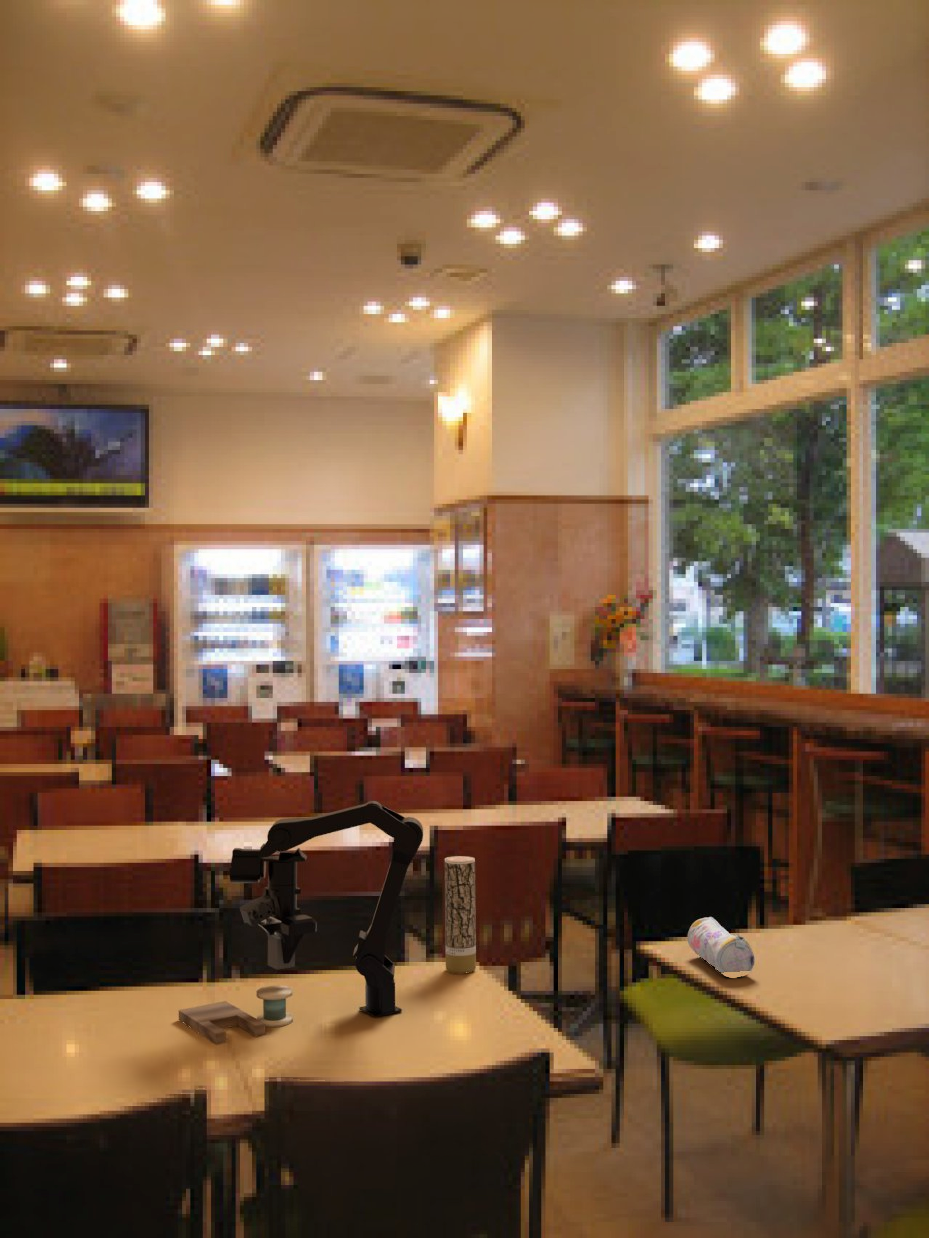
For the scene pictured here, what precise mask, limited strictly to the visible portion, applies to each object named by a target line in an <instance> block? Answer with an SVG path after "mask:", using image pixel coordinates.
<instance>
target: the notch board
mask: <svg viewBox="0 0 929 1238" xmlns="http://www.w3.org/2000/svg"><path fill="white" fill-rule="evenodd" d="M179 1020H181V1021H180V1022H181V1023H182V1022H184V1023H185V1024H187V1025H189V1026H190V1027H191V1028H192V1029H191V1028H190V1027H189V1028H190V1029H191V1030H193V1031H195V1032H196V1031H197V1032H196V1033H198V1032H199V1033H200V1035H201V1036H202V1035H203V1036H202V1037H203V1038H205V1037H206V1039H207V1040H209V1041H210V1042H211V1043H213V1044H215V1045H221V1044H225V1043H227V1031H226V1030H225V1029H226V1027H228V1028H231V1027H236V1025H237V1026H238V1027H239V1028H242V1029H243V1030H244V1031H246V1032H248V1033H249V1034H251V1035H253V1036H255V1037H258V1036H263V1035H266V1027H265V1023H263V1022H261V1021H260V1020H258V1019H257V1017H254V1016H252V1015H251V1014H249V1013H248V1012H246V1011H244V1010H242V1009H240V1008H238V1007H236V1006H235V1005H233V1004H231V1003H230V1002H228V1001H227V1000H224V1001H218V1002H214V1003H209V1004H204V1005H198V1006H194V1007H193V1006H192V1007H188V1008H183V1009H179V1010H178V1021H179ZM184 1023H183V1024H184ZM185 1024H184V1025H185ZM187 1025H186V1026H187ZM221 1028H223V1029H221ZM199 1033H198V1034H199Z"/></svg>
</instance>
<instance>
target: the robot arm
mask: <svg viewBox="0 0 929 1238" xmlns="http://www.w3.org/2000/svg"><path fill="white" fill-rule="evenodd" d="M368 824H372V825H373V826H374V827H376V828H378V829H379V830H380V831H381V832H383V833H385V834H386V835H388V836H389V837H391V838H392V839H393V841H392V842H393V843H392V849H391V850H392V852H391V859H390V862H389V867H388V869H387V873H386V876H385V880H384V882H383V885H382V889H381V892H380V896H379V898H378V902H377V905H376V909H375V912H374V915H373V918H372V921H371V924H370V926H369V928H368V930H367V931H363V930H360V931H359V936H358V942H357V945H356V946H355V947H354V950H353V954H352V957H353V958H355V960H354V966H355V967H354V968H355V969H356V971H357V972H358V974H360V975H361V976H362V977H364V980H365V987H364V990H365V995H364V996H365V1005H364V1006H359V1007H358V1008H359V1011H361V1012H363V1013H365V1014H367V1015H368V1016H371V1017H374V1018H378V1017H383V1016H384V1017H385V1016H388V1015H393V1014H397V1013H401V1012H403V1009H402V1008H400V1007H399V1006H396V982H395V979H394V978H395V971H396V965H395V963H394V962H393V961H392V960H391V959H390V958H389V957H388V956H386V949H387V942H388V933H389V930H390V927H391V924H392V920H393V918H394V917H393V916H394V913H395V910H396V906H397V904H398V901H399V898H400V894H401V891H402V888H403V884H404V881H405V878H406V875H407V872H408V869H409V866H410V865H411V863H412V861H413V859H414V858H415V856H416V854H417V853H418V850H419V849H420V846H421V844H422V843H423V839H424V826H423V824H422V823H421V822H420V821H419V820H418V819H417V818H415V817H411V816H406V817H405V816H403V815H401V814H400V813H398V812H396V811H394V810H392V809H390V808H388V807H386V806H384V805H382V804H381V803H380V802H379V801H375V800H369V801H367V802H366V803H363V804H359V805H355V806H350V807H347V808H343V809H339V810H335V811H332V812H328V813H324V814H318V815H316V816H311V817H310V816H308V817H288V818H287V817H286V818H280V819H278V820H276V821H275V822H274V823H273V824H272V825H271V827H270V829H269V830H268V832H267V838H266V839H267V841H266V842H265V843H263V844H262V845H261V846H260V847H259V848H260V849H258V848H255V849H254V848H253V849H252V848H247V849H246V848H240V847H239V848H238V847H234V848H233V850H232V853H231V861H230V867H229V882H230V883H232V884H259V883H260V881H261V879H265V878H266V873H268V874H267V878H268V879H267V882H268V883H267V886H266V887H263V890H262V896H259V897H258V898H255V899H253V900H251V901H249V902H246V903H245V904H243V905H241V906H240V907H239V910H240V913H241V916H242V919H243V923H244V924H249V926H252V927H255V926H259V927H260V928H262V929H263V930H264V931H265V933H266V935H267V937H268V935H273V934H274V933H276V934H277V935H278V936H279V937H280V938H281V944H282V954H283V961H284V963H285V964H288V963H290V961H291V958H292V956H293V954H294V952H295V953H296V950H297V948H298V946H299V944H300V942H301V940H302V939H303V937H304V935H305V934H312V933H317V931H318V928H317V927H318V926H317V925H318V922H317V921H316V919H315V918H313V917H312V916H309V915H307V914H301V908H300V907H297V902H298V901H297V898H298V897H297V896H298V895H300V894H301V893H302V892H301V888H300V887H298V882H297V881H298V863H301V862H302V863H304V862H306V860H307V858H308V856H307V854H305V853H304V852H303V851H302V850H301V848H300V847H298V846H300V845H303V844H304V843H306V842H308V841H310V840H312V839H314V838H316V837H317V838H318V837H320V836H324V835H327V834H332V833H336V832H341V831H344V830H347V829H352V828H355V827H356V828H357V827H359V826H362V825H368ZM296 847H298V848H297V849H296V850H295V851H289V850H292V849H294V848H296ZM277 852H279V854H278V855H273V854H275V853H277ZM272 855H273V856H272ZM267 865H268V867H267ZM267 869H268V871H267Z"/></svg>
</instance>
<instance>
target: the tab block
mask: <svg viewBox="0 0 929 1238" xmlns="http://www.w3.org/2000/svg"><path fill="white" fill-rule="evenodd" d="M295 962H296V951H295V952H294V954H293V956H292V958H291V961H290V963H288V964H285V963H284V961H283V954H282V944H281V938H280V937H279V936H278V935H277V934H276V933H274V934H273V935H268V936H267V966H268V967H271V968H273V969H274V970H283V969H288V968H295V967H296V963H295Z"/></svg>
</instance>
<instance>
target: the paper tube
mask: <svg viewBox="0 0 929 1238" xmlns="http://www.w3.org/2000/svg"><path fill="white" fill-rule="evenodd" d="M444 915H445V916H444V920H445V921H444V922H445V923H444V927H445V928H444V929H445V931H444V933H445V934H444V935H445V969H446V971H447V972H448V973H451V972H453V973H452V974H456V973H465V974H467V973H466V972H470V973H473V972H474V971H475V970H476V969H477V956H476V955H477V949H476V948H477V945H476V943H477V938H476V937H477V934H476V933H477V932H476V931H477V930H476V928H477V927H476V926H477V925H476V922H477V921H476V915H477V914H476V860H475V857H473V856H467V855H465V856H464V855H463V856H462V855H459V856H458V855H455V856H448V857H445V858H444ZM472 971H473V972H472Z"/></svg>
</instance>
